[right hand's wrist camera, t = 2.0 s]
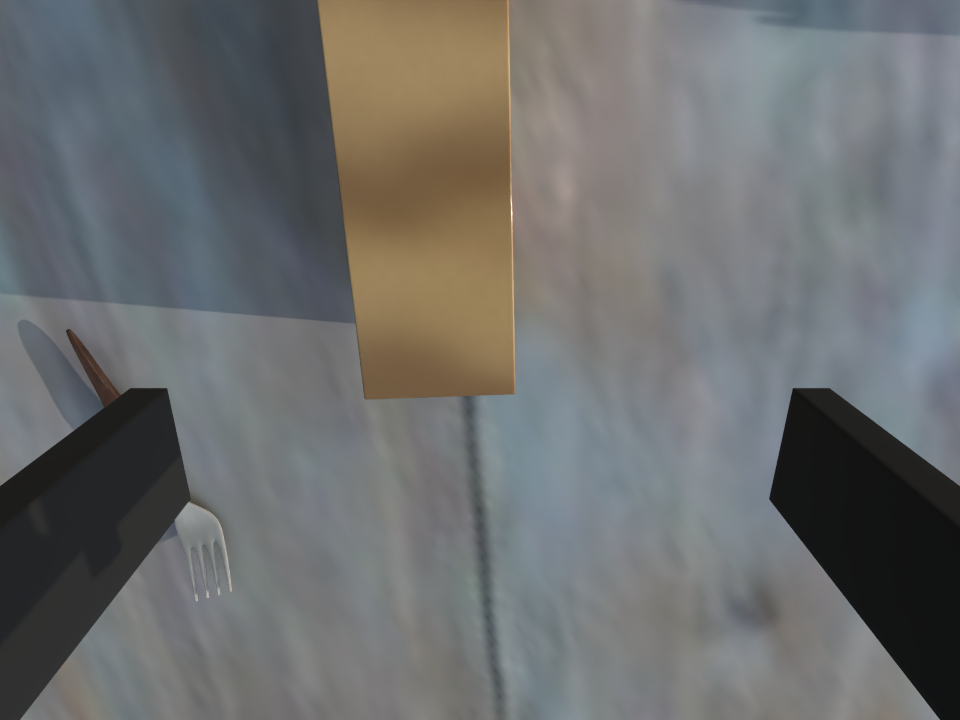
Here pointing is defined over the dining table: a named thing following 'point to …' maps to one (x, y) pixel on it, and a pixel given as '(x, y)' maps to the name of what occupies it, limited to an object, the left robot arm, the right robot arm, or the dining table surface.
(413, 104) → the bar
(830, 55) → the dining table surface
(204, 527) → the fork
